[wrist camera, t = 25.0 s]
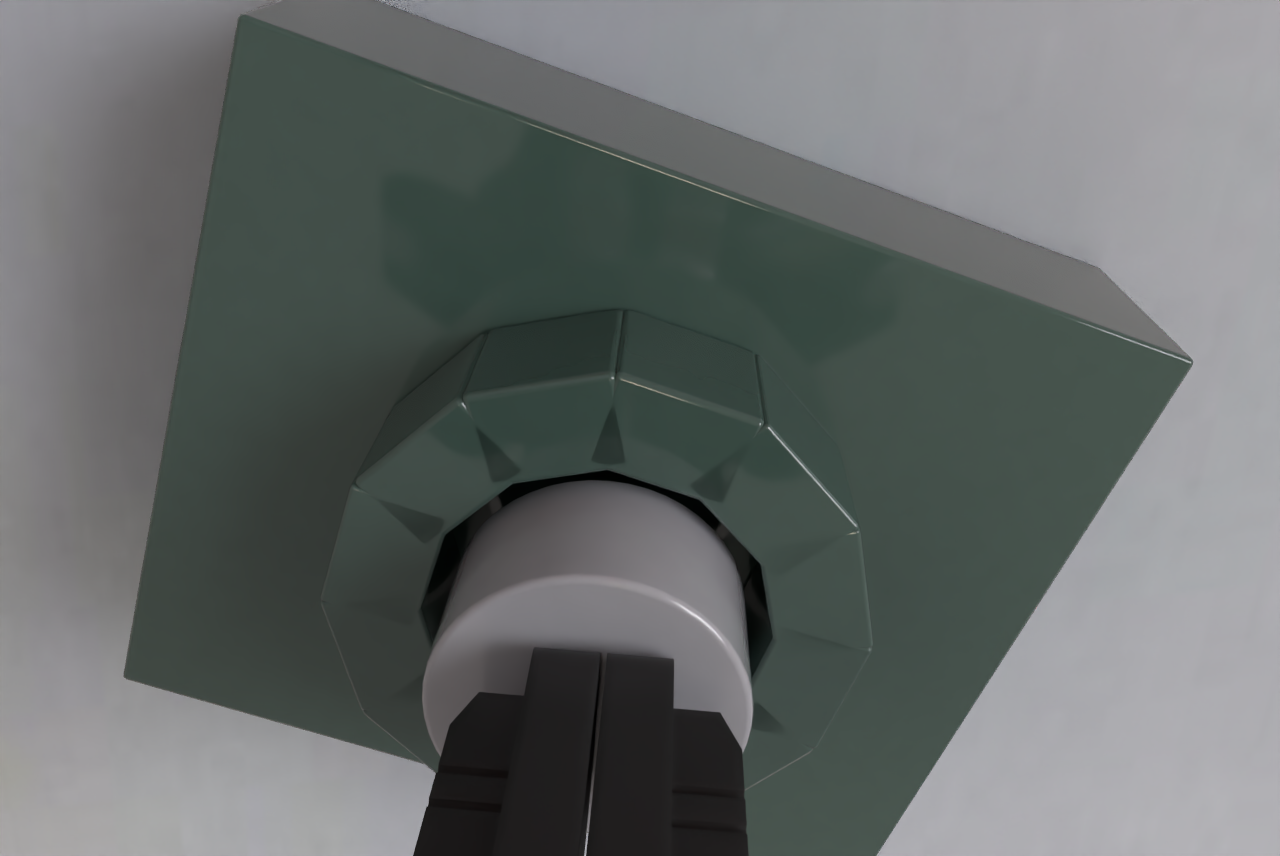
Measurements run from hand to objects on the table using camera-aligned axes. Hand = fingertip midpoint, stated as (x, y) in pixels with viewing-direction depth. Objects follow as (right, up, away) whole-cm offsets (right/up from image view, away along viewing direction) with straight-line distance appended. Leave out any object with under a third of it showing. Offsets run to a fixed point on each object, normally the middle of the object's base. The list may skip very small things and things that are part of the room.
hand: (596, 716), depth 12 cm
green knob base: (0, +3, +6) cm, 7 cm away
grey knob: (0, +1, +2) cm, 2 cm away
